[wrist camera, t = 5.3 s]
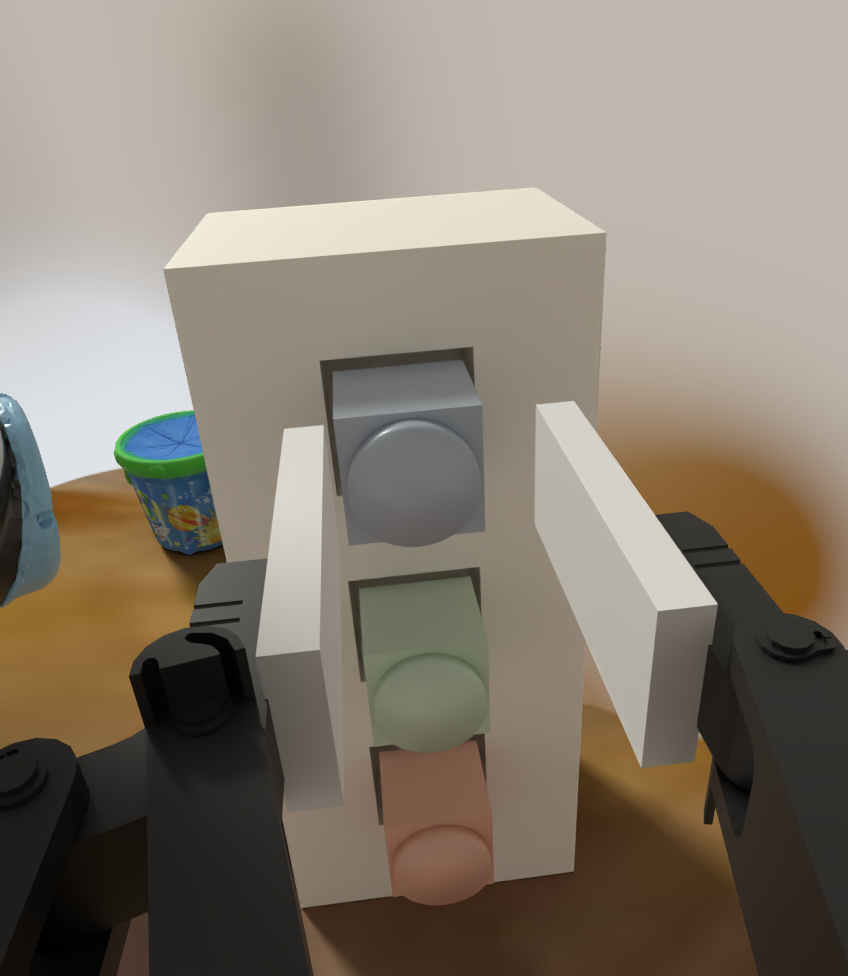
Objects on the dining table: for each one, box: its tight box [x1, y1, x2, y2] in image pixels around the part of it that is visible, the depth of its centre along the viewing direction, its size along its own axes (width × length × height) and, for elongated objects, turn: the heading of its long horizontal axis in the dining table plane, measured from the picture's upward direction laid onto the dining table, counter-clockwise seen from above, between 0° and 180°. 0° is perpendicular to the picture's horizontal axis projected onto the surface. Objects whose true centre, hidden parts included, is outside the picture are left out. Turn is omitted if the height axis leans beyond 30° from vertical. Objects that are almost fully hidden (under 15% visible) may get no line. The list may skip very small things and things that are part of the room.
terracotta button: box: [379, 741, 494, 905], centre depth 34 cm, size 5×4×4 cm
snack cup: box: [114, 410, 223, 555], centre depth 70 cm, size 16×10×10 cm
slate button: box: [333, 360, 485, 547], centre depth 26 cm, size 5×4×4 cm
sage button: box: [359, 576, 490, 753], centre depth 30 cm, size 5×4×4 cm
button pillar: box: [163, 187, 606, 908], centre depth 37 cm, size 10×14×32 cm
